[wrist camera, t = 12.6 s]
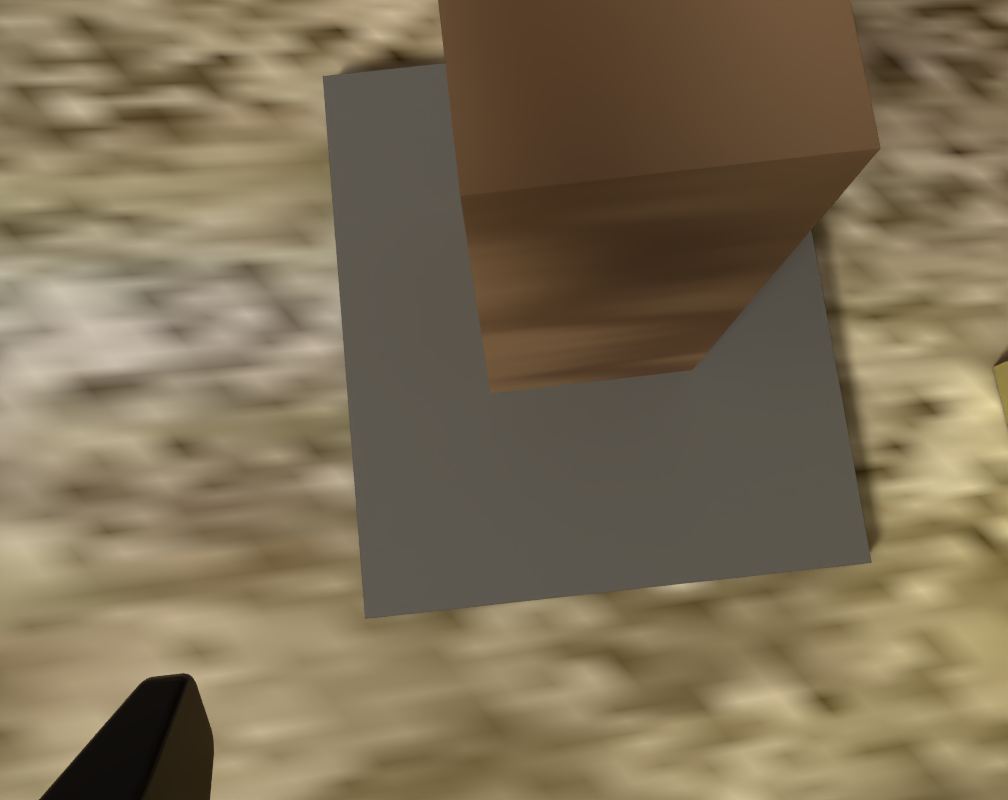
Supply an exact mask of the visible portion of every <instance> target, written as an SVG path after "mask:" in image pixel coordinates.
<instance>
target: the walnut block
mask: <svg viewBox="0 0 1008 800" xmlns="http://www.w3.org/2000/svg"><path fill="white" fill-rule="evenodd" d="M438 3H439V12H440V20H441V29H442V38H443V47H444V56H445V65H446V74H447V83H448V92H449V101H450V110H451V119H452V127H453V136H454V145H455V154H456V163H457V172H458V181H459V190H460V198H461V205H462V211H463V218H464V224H465V231H466V237H467V244H468V250H469V257H470V263H471V270H472V276H473V283H474V290H475V296H476V303H477V309H478V316H479V322H480V329H481V335H482V342H483V348H484V355H485V361H486V368H487V375H488V381H489V388H490V393H499V392H508V391H516V390H525V389H534V388H542V387H551V386H560V385H568V384H577V383H586V382H594V381H603V380H612V379H620V378H629V377H638V376H646V375H655V374H664V373H672V372H681V371H690V370H693V369H694V368H695V367H696V365H697V364H698V363H699V362H700V361H701V360H702V358H703V357H704V356H705V355H706V354H707V352H708V351H709V350H710V349H711V348H712V347H713V345H714V344H715V343H716V342H717V341H718V339H719V338H720V337H721V336H722V335H723V334H724V332H725V331H726V330H727V329H728V328H729V326H730V325H731V324H732V323H733V322H734V321H735V319H736V318H737V317H738V316H739V315H740V314H741V312H742V311H743V310H744V309H745V308H746V306H747V305H748V304H749V303H750V302H751V301H752V299H753V298H754V297H755V296H756V295H757V293H758V292H759V291H760V290H761V289H762V288H763V286H764V285H765V284H766V283H767V282H768V280H769V279H770V278H771V277H772V276H773V275H774V273H775V272H776V271H777V270H778V269H779V267H780V266H781V265H782V264H783V263H784V262H785V260H786V259H787V258H788V257H789V256H790V254H791V253H792V252H793V251H794V250H795V249H796V247H797V246H798V245H799V244H800V243H801V241H802V240H803V239H804V238H805V237H806V236H807V234H808V233H809V232H810V231H811V230H812V228H813V227H814V226H815V225H816V224H817V223H818V221H819V220H820V219H821V218H822V217H823V215H824V214H825V213H826V212H827V211H828V210H829V208H830V207H831V206H832V205H833V204H834V202H835V201H836V200H837V199H838V198H839V197H840V195H841V194H842V193H843V192H844V191H845V189H846V188H847V187H848V186H849V185H850V184H851V182H852V181H853V180H854V179H855V178H856V176H857V175H858V174H859V173H860V172H861V171H862V169H863V168H864V167H865V166H866V165H867V163H868V162H869V161H870V160H871V159H872V158H873V156H874V155H875V154H876V153H877V152H878V151H879V149H880V143H879V138H878V133H877V129H876V124H875V119H874V114H873V109H872V104H871V99H870V95H869V90H868V85H867V80H866V75H865V70H864V65H863V60H862V56H861V51H860V46H859V41H858V36H857V31H856V26H855V22H854V17H853V12H852V7H851V2H850V0H438Z"/></svg>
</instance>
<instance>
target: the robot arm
mask: <svg viewBox="0 0 1008 800" xmlns="http://www.w3.org/2000/svg"><path fill="white" fill-rule="evenodd" d="M213 759H214V742H213V734H212V730H211V727H210V724H209V721H208V718H207V715H206V712H205V709H204V706H203V703H202V699H201V696H200V693H199V690H198V687H197V685H196V682H195V680H194V679H193V678H192V676H190V675H189V674H184V673H182V674H173V675H165V676H156V677H150V678H148V679H146V680H144V681H143V682H142V683H140V684H139V685H138V687H137V688H136V689H135V690H134V691H133V692H132V693H131V695H130V696H129V697H128V698H127V699H126V700H125V702H124V703H123V704H122V705H121V706H120V707H119V708H118V710H117V711H116V712H115V713H114V714H113V715H112V716H111V718H110V719H109V720H108V721H107V722H106V723H105V725H104V726H103V727H102V728H101V729H100V730H99V731H98V733H97V734H96V735H95V736H94V737H93V738H92V739H91V741H90V742H89V743H88V744H87V745H86V746H85V747H84V749H83V750H82V751H81V752H80V753H79V754H78V756H77V757H76V758H75V759H74V760H73V761H72V762H71V764H70V765H69V766H68V767H67V768H66V769H65V770H64V772H63V773H62V774H61V775H60V776H59V777H58V779H57V780H56V781H55V782H54V783H53V784H52V785H51V787H50V788H49V789H48V790H47V791H46V792H45V793H44V795H43V796H42V797H41V798H40V799H39V800H210V793H211V781H212V770H213Z"/></svg>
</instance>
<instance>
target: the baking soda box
mask: <svg viewBox="0 0 1008 800" xmlns="http://www.w3.org/2000/svg"><path fill="white" fill-rule="evenodd" d="M993 368H994V372H995V376H996V381H997V385H998V389H999V393H1000V397H1001V401H1002V405H1003V409H1004V413H1005V417H1006V421H1007V425H1008V361H1006V362H1004V363H1001V364H999V365H997V366H995V367H993Z"/></svg>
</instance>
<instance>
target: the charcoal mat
mask: <svg viewBox="0 0 1008 800" xmlns="http://www.w3.org/2000/svg"><path fill="white" fill-rule="evenodd" d="M323 85H324V98H325V111H326V124H327V136H328V149H329V162H330V175H331V188H332V200H333V213H334V226H335V239H336V252H337V264H338V277H339V290H340V303H341V316H342V328H343V341H344V354H345V367H346V380H347V392H348V405H349V418H350V431H351V444H352V456H353V469H354V482H355V495H356V508H357V520H358V533H359V546H360V559H361V572H362V584H363V597H364V610H365V619H367V618H376V617H386V616H395V615H404V614H413V613H422V612H431V611H440V610H449V609H458V608H467V607H476V606H485V605H494V604H503V603H512V602H521V601H530V600H539V599H548V598H557V597H566V596H575V595H584V594H593V593H602V592H611V591H620V590H629V589H638V588H647V587H657V586H666V585H675V584H684V583H693V582H702V581H711V580H720V579H729V578H738V577H747V576H756V575H765V574H774V573H783V572H792V571H801V570H810V569H819V568H828V567H837V566H846V565H855V564H864V563H872V562H871V556H870V551H869V545H868V540H867V534H866V528H865V523H864V517H863V512H862V506H861V501H860V495H859V490H858V484H857V479H856V473H855V468H854V462H853V457H852V451H851V446H850V440H849V435H848V429H847V423H846V418H845V412H844V407H843V401H842V396H841V390H840V385H839V379H838V374H837V368H836V363H835V357H834V352H833V346H832V341H831V335H830V329H829V324H828V318H827V313H826V307H825V302H824V296H823V291H822V285H821V280H820V274H819V269H818V263H817V258H816V252H815V247H814V241H813V236H812V230H811V231H810V232H809V233H808V234H807V236H806V237H805V238H804V239H803V240H802V241H801V243H800V244H799V245H798V246H797V247H796V249H795V250H794V251H793V252H792V253H791V254H790V256H789V257H788V258H787V259H786V260H785V262H784V263H783V264H782V265H781V266H780V267H779V269H778V270H777V271H776V272H775V273H774V275H773V276H772V277H771V278H770V279H769V280H768V282H767V283H766V284H765V285H764V286H763V288H762V289H761V290H760V291H759V292H758V293H757V295H756V296H755V297H754V298H753V299H752V301H751V302H750V303H749V304H748V305H747V306H746V308H745V309H744V310H743V311H742V312H741V314H740V315H739V316H738V317H737V318H736V319H735V321H734V322H733V323H732V324H731V325H730V326H729V328H728V329H727V330H726V331H725V332H724V334H723V335H722V336H721V337H720V338H719V339H718V341H717V342H716V343H715V344H714V345H713V347H712V348H711V349H710V350H709V351H708V352H707V354H706V355H705V356H704V357H703V358H702V360H701V361H700V362H699V363H698V364H697V365H696V367H695V368H694V369H693V370H690V371H681V372H672V373H664V374H655V375H646V376H638V377H629V378H620V379H612V380H603V381H594V382H586V383H577V384H568V385H560V386H551V387H542V388H534V389H525V390H516V391H508V392H499V393H490V388H489V381H488V375H487V368H486V361H485V355H484V348H483V342H482V335H481V329H480V322H479V316H478V309H477V303H476V296H475V290H474V283H473V276H472V270H471V263H470V257H469V250H468V244H467V237H466V231H465V224H464V218H463V211H462V205H461V198H460V190H459V181H458V172H457V163H456V154H455V145H454V136H453V127H452V119H451V110H450V101H449V92H448V83H447V74H446V65H445V63H442V64H433V65H423V66H414V67H405V68H395V69H386V70H377V71H367V72H358V73H349V74H340V75H330V76H323Z"/></svg>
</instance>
